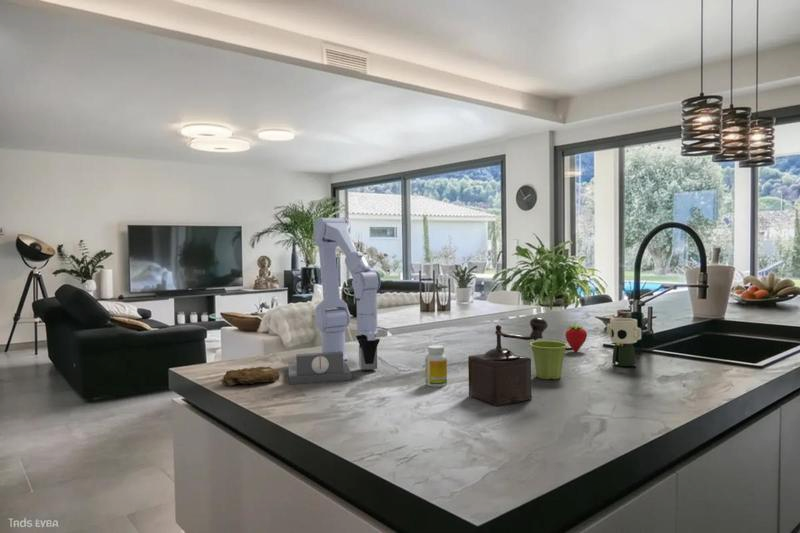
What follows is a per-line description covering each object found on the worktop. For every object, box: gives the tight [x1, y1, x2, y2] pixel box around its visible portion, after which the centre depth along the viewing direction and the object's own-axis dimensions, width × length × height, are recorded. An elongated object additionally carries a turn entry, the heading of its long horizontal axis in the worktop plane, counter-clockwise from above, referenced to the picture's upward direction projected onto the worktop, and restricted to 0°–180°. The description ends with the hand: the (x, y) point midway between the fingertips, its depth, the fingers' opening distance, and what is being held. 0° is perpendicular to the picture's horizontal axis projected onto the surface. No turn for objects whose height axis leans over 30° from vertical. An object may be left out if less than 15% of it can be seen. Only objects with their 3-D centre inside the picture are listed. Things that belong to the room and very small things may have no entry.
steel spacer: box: [358, 345, 378, 371], centre depth 154 cm, size 4×4×6 cm
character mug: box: [606, 317, 642, 367], centre depth 153 cm, size 11×7×13 cm, turn 31°
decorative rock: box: [220, 366, 280, 387], centre depth 143 cm, size 11×4×15 cm
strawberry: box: [564, 323, 588, 352], centre depth 174 cm, size 6×8×10 cm
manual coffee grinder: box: [467, 317, 548, 407], centre depth 124 cm, size 16×11×18 cm
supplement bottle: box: [424, 344, 448, 388], centre depth 136 cm, size 5×5×10 cm
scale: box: [288, 351, 352, 385], centre depth 150 cm, size 18×16×7 cm
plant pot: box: [529, 340, 568, 380], centre depth 141 cm, size 9×9×9 cm
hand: (368, 361), depth 154 cm, fingers closed on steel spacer, 4 cm apart
